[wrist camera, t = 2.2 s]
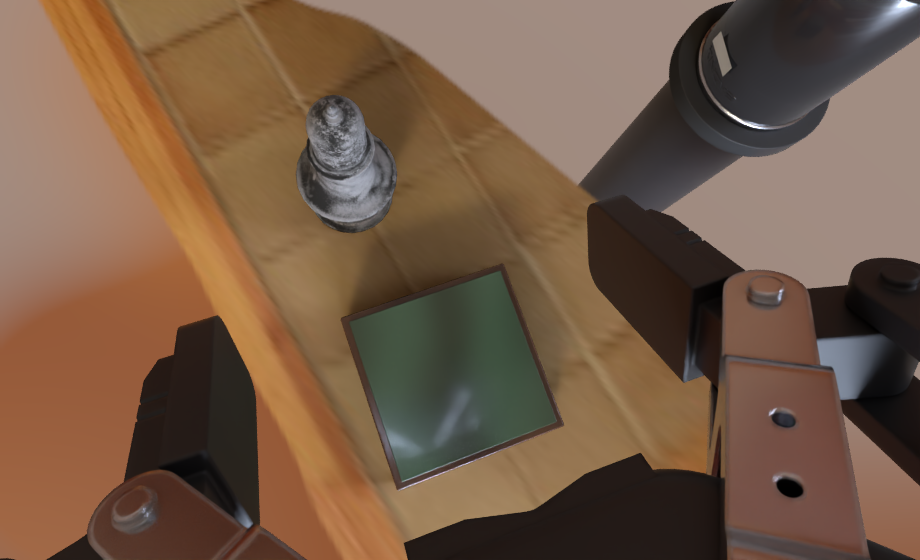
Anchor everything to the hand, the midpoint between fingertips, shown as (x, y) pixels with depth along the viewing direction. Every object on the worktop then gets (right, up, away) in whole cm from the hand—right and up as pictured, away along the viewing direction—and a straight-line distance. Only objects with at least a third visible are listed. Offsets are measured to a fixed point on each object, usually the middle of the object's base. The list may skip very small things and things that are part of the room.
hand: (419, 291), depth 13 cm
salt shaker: (-6, +6, +26) cm, 27 cm away
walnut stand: (0, -6, +24) cm, 25 cm away
